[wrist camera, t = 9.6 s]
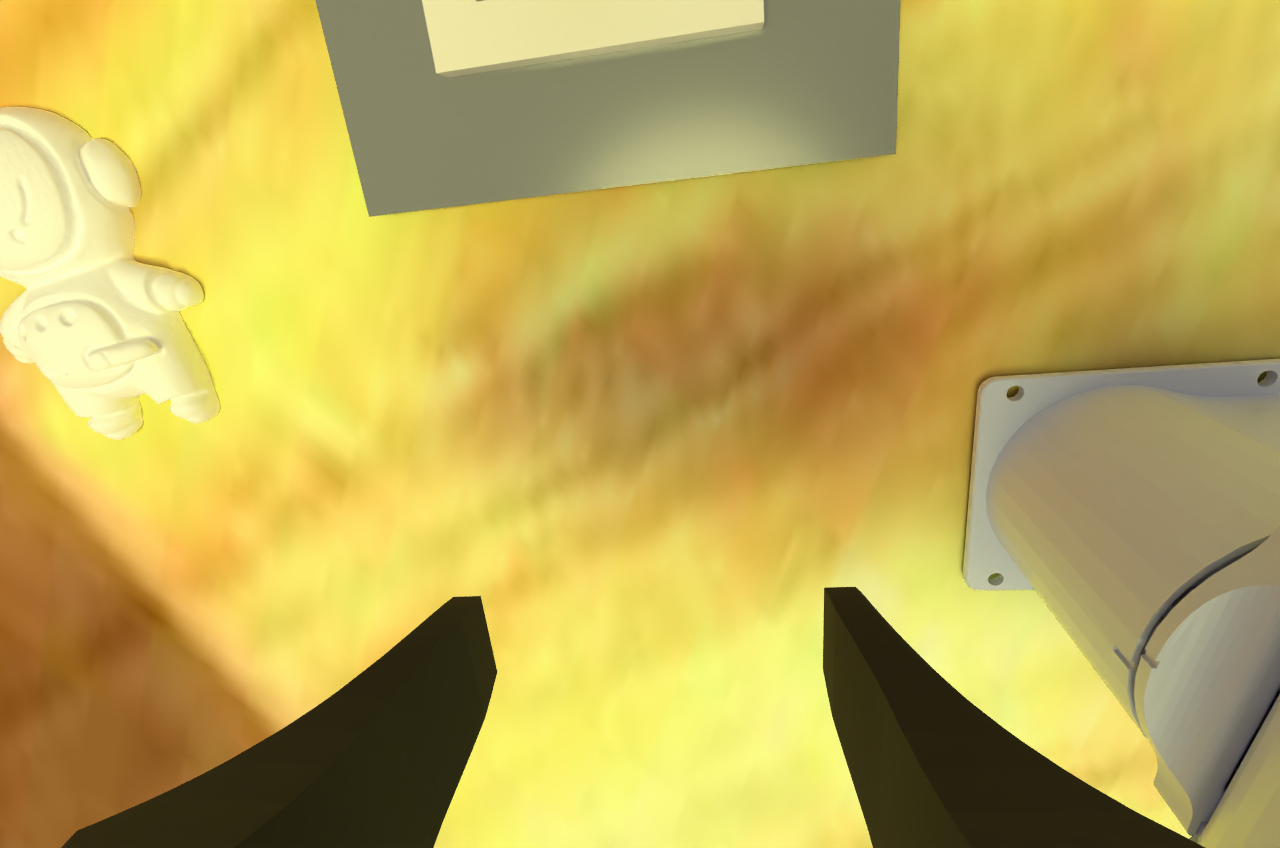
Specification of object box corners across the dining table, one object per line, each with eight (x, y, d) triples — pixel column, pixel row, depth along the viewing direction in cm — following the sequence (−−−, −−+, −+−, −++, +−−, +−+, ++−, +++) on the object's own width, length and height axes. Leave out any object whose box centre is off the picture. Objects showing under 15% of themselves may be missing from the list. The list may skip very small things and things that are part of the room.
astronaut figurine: (83, 437, 27) (8, 467, 24) (-71, 132, 23) (-183, 125, 20) (262, 414, 25) (204, 443, 22) (131, 81, 21) (40, 66, 18)
